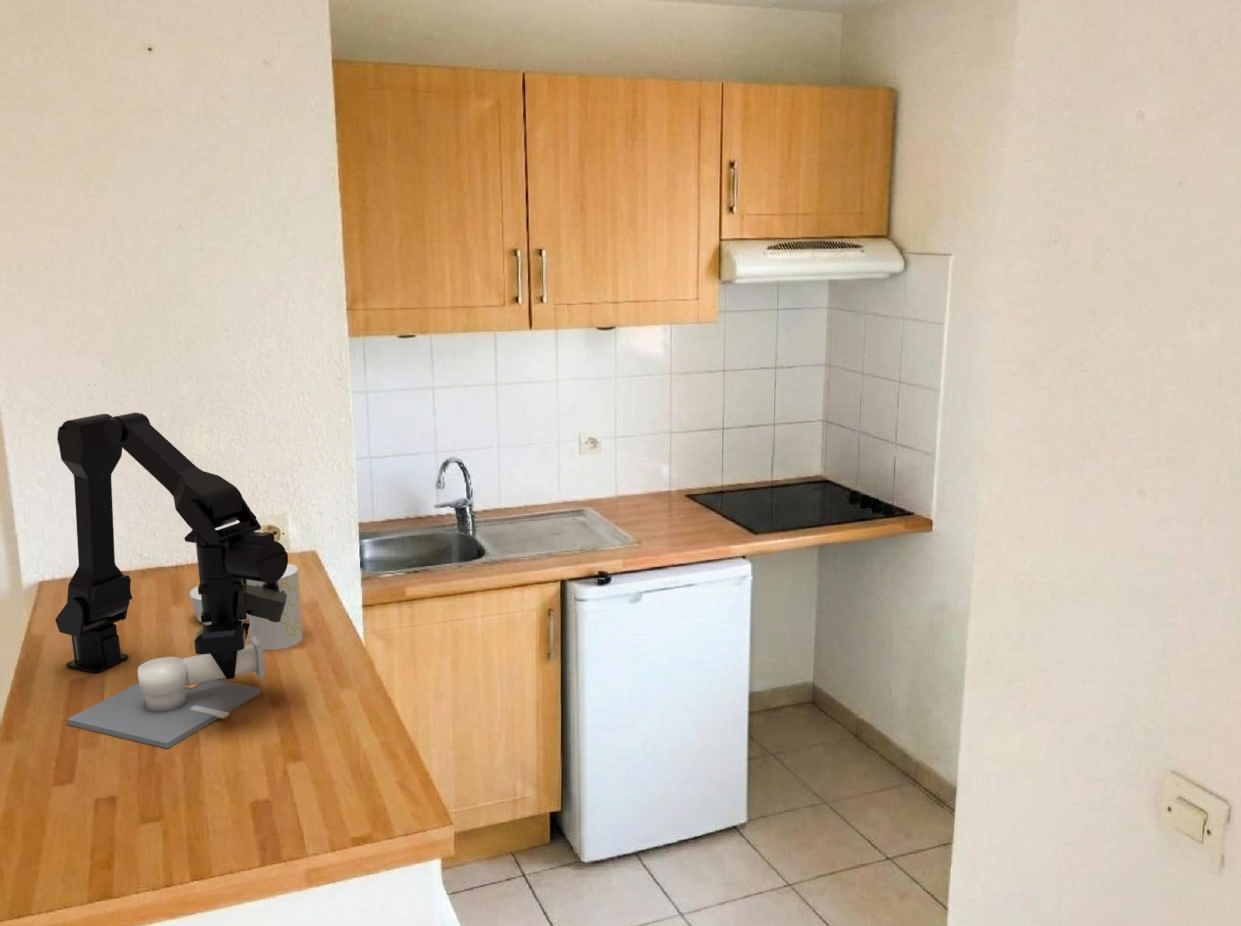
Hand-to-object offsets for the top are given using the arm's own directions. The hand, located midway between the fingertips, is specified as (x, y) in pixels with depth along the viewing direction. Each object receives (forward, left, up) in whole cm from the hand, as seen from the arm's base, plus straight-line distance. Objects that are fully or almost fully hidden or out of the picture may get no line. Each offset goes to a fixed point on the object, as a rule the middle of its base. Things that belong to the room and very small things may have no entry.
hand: (230, 678), depth 154 cm
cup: (-9, +21, -4) cm, 23 cm away
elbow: (-4, -1, -1) cm, 5 cm away
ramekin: (-24, +26, -4) cm, 36 cm away
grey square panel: (-6, -4, -4) cm, 9 cm away
